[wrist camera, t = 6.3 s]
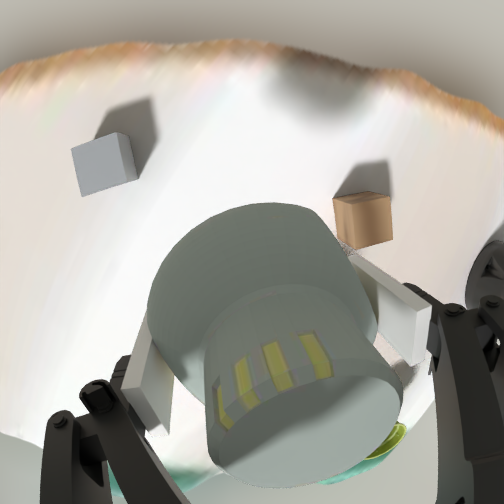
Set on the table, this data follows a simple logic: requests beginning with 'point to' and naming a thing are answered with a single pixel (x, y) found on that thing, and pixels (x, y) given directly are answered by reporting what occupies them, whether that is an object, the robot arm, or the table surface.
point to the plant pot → (390, 440)
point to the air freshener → (274, 345)
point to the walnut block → (363, 219)
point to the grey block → (104, 163)
